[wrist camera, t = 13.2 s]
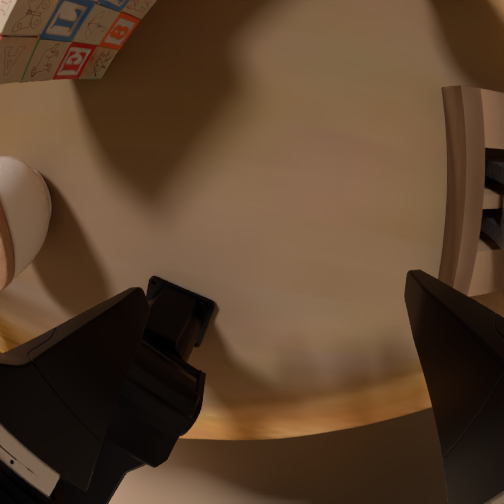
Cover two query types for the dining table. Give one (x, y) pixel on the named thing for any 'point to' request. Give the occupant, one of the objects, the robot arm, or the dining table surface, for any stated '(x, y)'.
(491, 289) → the brown holed block
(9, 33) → the stack of blocks
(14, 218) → the lidded bowl
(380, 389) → the dining table surface
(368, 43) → the dining table surface
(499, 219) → the grey tall block
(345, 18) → the dining table surface
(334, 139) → the dining table surface
